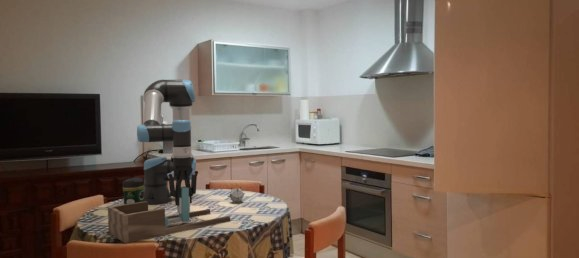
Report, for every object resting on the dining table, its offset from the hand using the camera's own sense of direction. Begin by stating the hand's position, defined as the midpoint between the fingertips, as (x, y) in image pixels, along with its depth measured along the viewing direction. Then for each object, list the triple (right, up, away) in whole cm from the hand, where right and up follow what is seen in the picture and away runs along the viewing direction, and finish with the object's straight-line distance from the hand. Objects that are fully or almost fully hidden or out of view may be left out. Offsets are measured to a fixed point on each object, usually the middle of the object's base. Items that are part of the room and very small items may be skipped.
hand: (183, 212), depth 174 cm
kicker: (-4, -5, -3) cm, 7 cm away
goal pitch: (-4, -5, -3) cm, 7 cm away
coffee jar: (-24, -5, +9) cm, 26 cm away
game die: (+17, -3, +40) cm, 44 cm away
